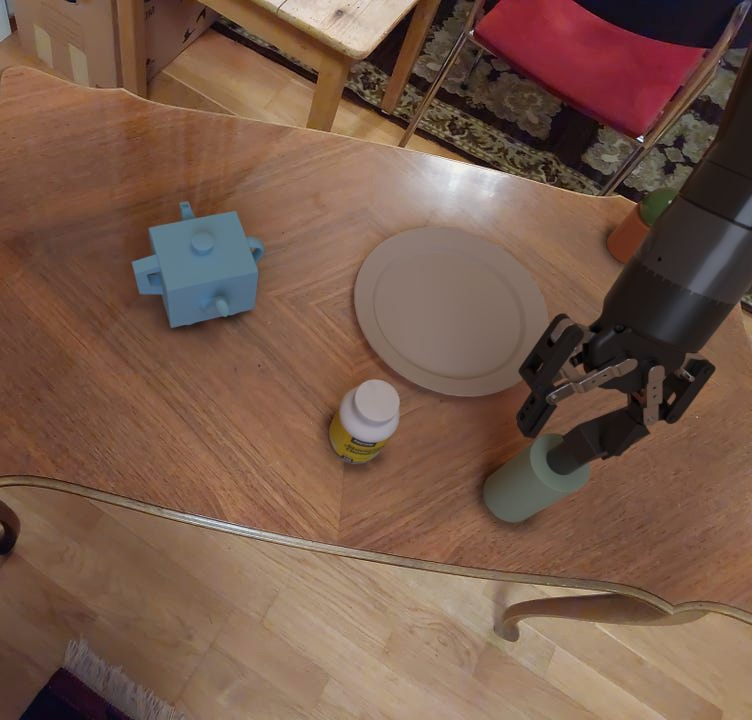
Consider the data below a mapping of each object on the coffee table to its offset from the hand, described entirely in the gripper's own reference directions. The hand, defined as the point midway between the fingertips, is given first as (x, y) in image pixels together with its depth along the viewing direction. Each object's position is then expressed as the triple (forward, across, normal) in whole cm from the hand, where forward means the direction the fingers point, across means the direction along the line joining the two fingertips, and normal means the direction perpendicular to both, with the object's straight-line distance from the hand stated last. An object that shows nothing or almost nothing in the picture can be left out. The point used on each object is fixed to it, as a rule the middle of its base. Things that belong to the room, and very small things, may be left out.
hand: (567, 441), depth 55 cm
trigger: (+5, +12, +7) cm, 15 cm away
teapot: (+13, -28, +35) cm, 47 cm away
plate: (+6, +4, +33) cm, 34 cm away
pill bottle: (+18, -8, +18) cm, 27 cm away
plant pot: (-7, +30, +42) cm, 52 cm away
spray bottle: (+16, +10, +12) cm, 22 cm away
